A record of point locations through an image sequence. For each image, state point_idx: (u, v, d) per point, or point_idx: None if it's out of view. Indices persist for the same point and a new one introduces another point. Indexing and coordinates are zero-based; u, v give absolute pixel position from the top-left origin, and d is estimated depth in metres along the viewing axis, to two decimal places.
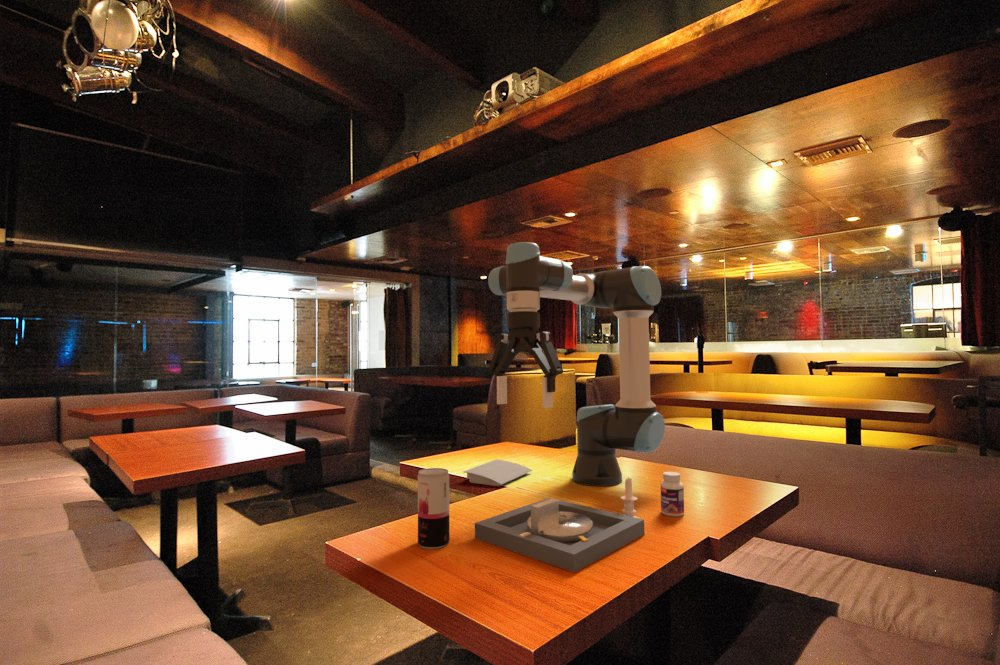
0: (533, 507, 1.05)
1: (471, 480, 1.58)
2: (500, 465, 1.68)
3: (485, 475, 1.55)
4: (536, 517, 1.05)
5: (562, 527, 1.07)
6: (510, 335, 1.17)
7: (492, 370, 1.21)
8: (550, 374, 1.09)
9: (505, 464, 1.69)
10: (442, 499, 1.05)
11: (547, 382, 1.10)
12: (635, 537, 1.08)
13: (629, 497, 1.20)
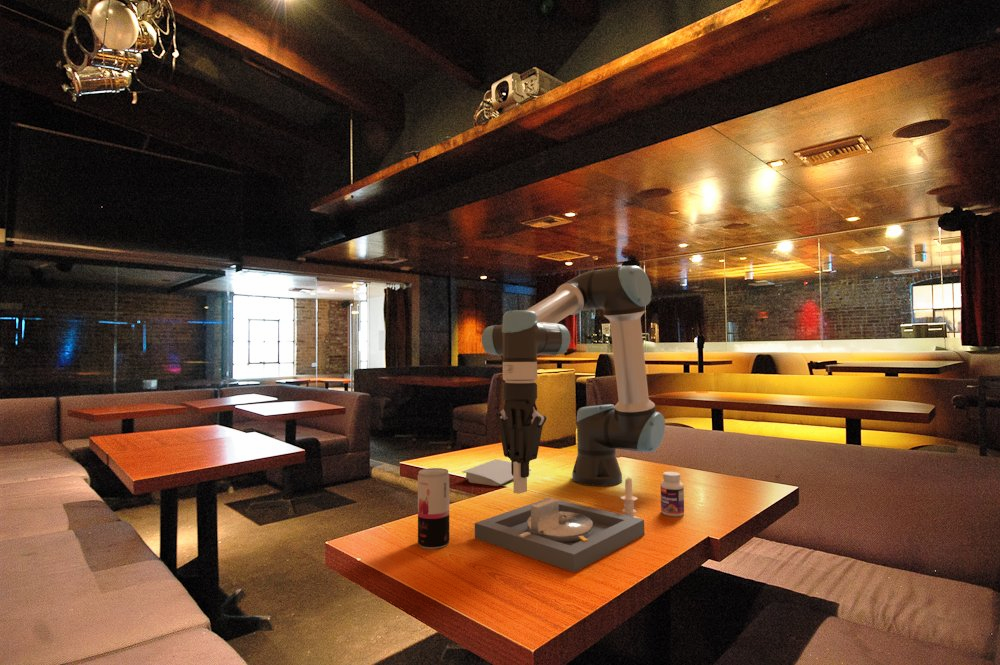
0: (533, 507, 1.05)
1: (470, 480, 1.59)
2: (499, 465, 1.68)
3: (484, 475, 1.55)
4: (536, 517, 1.05)
5: (562, 527, 1.07)
6: (505, 406, 1.13)
7: (508, 452, 1.12)
8: (523, 461, 1.09)
9: (504, 464, 1.69)
10: (442, 499, 1.05)
11: (521, 467, 1.09)
12: (635, 537, 1.08)
13: (629, 497, 1.20)
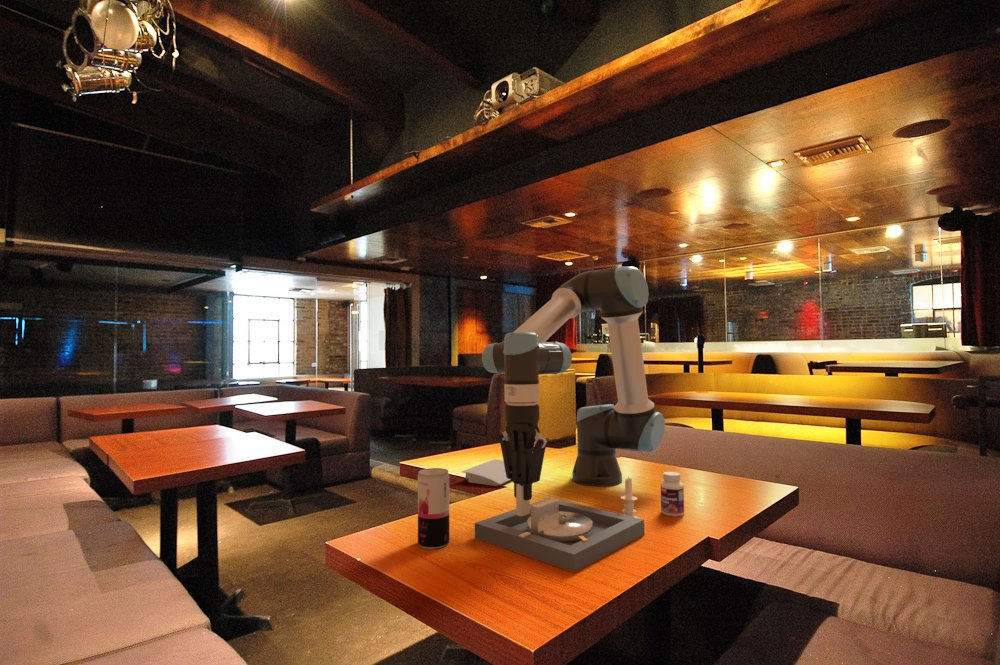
0: (533, 507, 1.05)
1: (470, 480, 1.59)
2: (498, 465, 1.68)
3: (484, 475, 1.56)
4: (536, 517, 1.05)
5: (562, 527, 1.07)
6: (507, 427, 1.12)
7: (510, 474, 1.11)
8: (526, 484, 1.08)
9: (503, 464, 1.69)
10: (442, 499, 1.05)
11: (523, 490, 1.09)
12: (635, 537, 1.08)
13: (629, 497, 1.20)
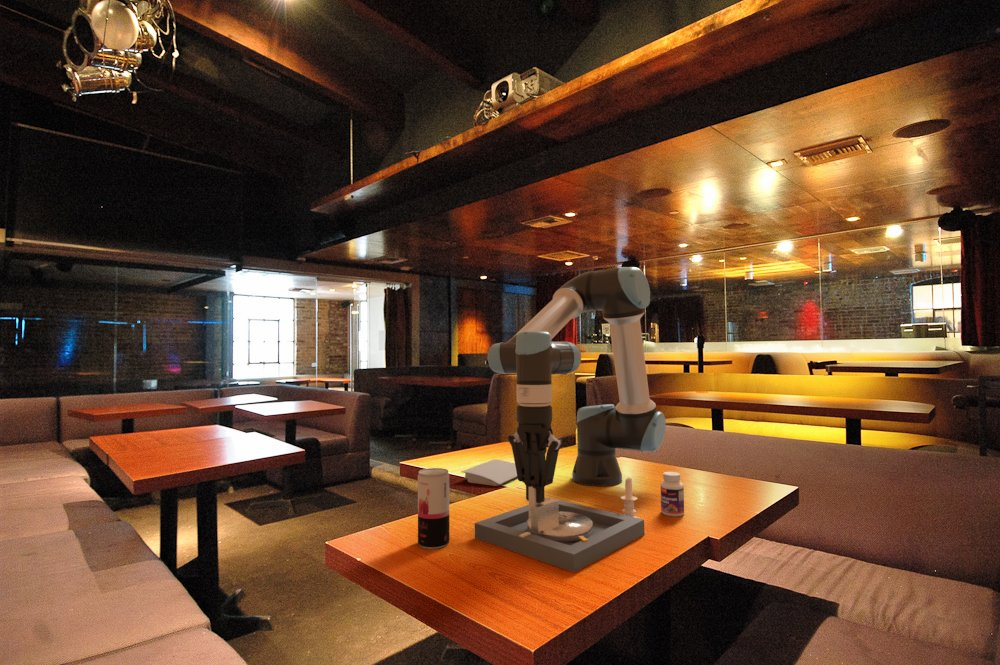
0: (533, 507, 1.05)
1: (469, 480, 1.59)
2: (498, 465, 1.68)
3: (483, 475, 1.56)
4: (536, 517, 1.05)
5: (562, 527, 1.07)
6: (519, 429, 1.10)
7: (522, 476, 1.09)
8: (539, 486, 1.06)
9: (503, 464, 1.70)
10: (442, 499, 1.05)
11: (536, 492, 1.07)
12: (635, 537, 1.08)
13: (629, 497, 1.20)
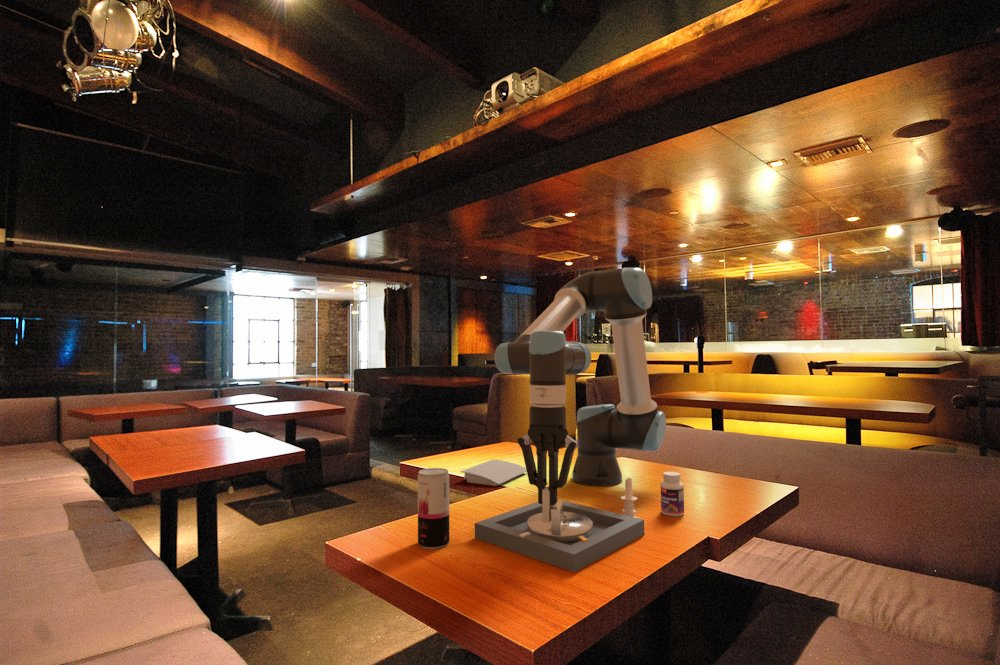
0: (554, 510, 1.03)
1: (469, 480, 1.59)
2: (497, 465, 1.68)
3: (483, 475, 1.56)
4: (558, 520, 1.03)
5: (571, 526, 1.08)
6: (531, 431, 1.07)
7: (534, 480, 1.06)
8: (554, 489, 1.04)
9: (502, 464, 1.70)
10: (442, 499, 1.05)
11: (550, 495, 1.05)
12: (635, 537, 1.08)
13: (629, 497, 1.20)
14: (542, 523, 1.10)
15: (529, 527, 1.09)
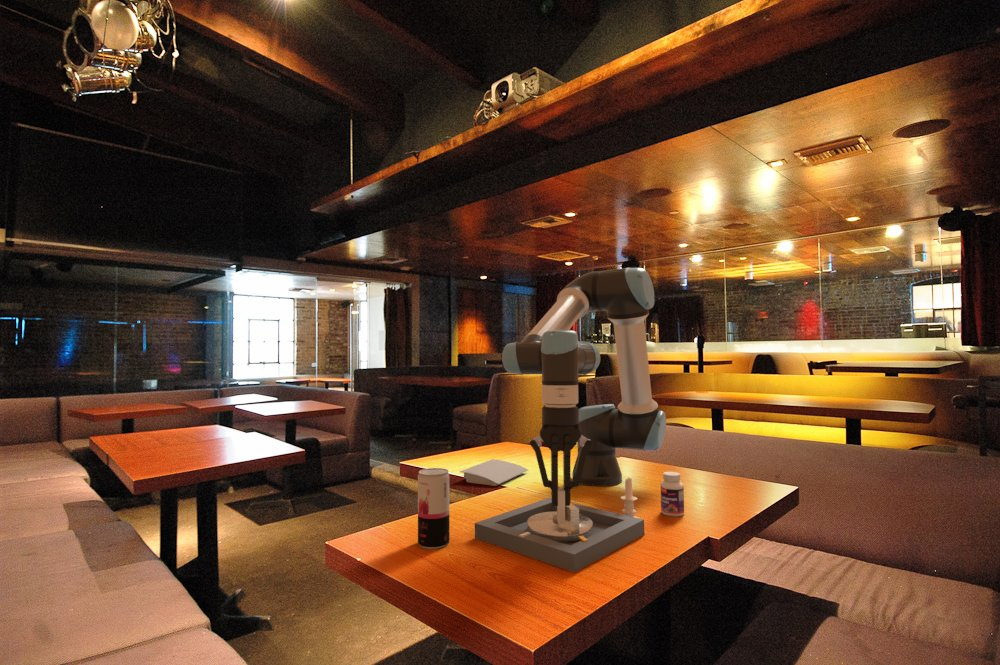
0: (573, 510, 1.03)
1: (468, 480, 1.59)
2: (496, 465, 1.68)
3: (482, 475, 1.56)
4: (577, 519, 1.03)
5: None
6: (544, 432, 1.05)
7: (548, 482, 1.04)
8: None
9: (501, 464, 1.70)
10: (442, 499, 1.05)
11: (565, 495, 1.04)
12: (635, 537, 1.08)
13: (629, 497, 1.20)
14: (547, 525, 1.08)
15: (537, 531, 1.06)
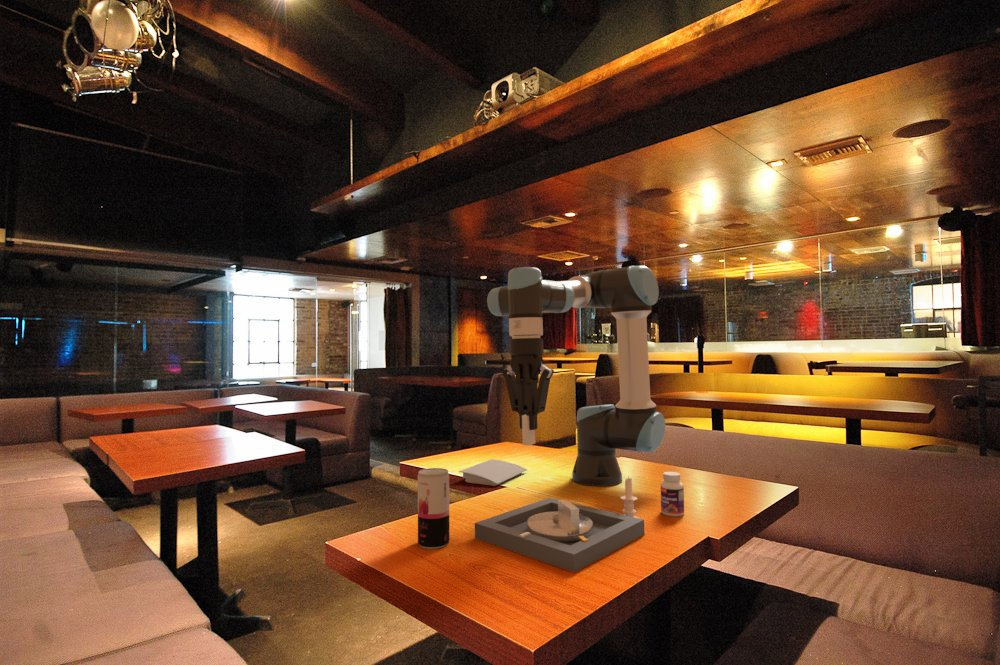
0: (573, 510, 1.03)
1: (467, 480, 1.59)
2: (495, 465, 1.68)
3: (481, 475, 1.56)
4: (577, 519, 1.03)
5: None
6: (512, 362, 1.15)
7: (515, 406, 1.15)
8: (532, 414, 1.12)
9: (500, 464, 1.70)
10: (442, 499, 1.05)
11: (529, 420, 1.12)
12: (635, 537, 1.08)
13: (629, 497, 1.20)
14: (547, 525, 1.08)
15: (537, 531, 1.06)
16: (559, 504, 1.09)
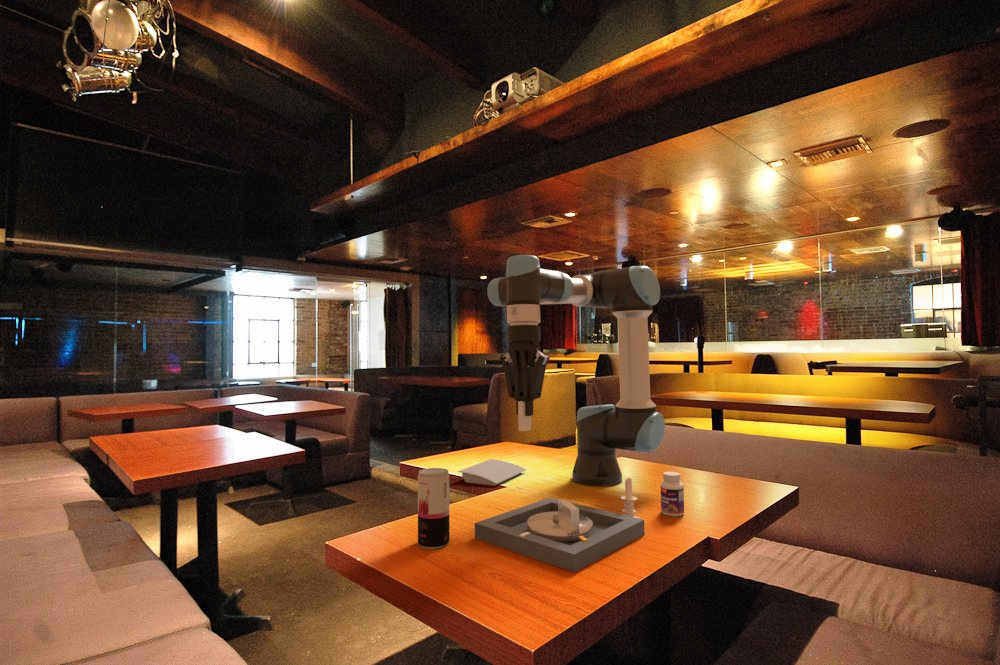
0: (573, 510, 1.03)
1: (466, 480, 1.59)
2: (495, 465, 1.68)
3: (480, 475, 1.56)
4: (577, 519, 1.03)
5: None
6: (509, 349, 1.17)
7: (512, 393, 1.16)
8: (527, 400, 1.13)
9: (499, 464, 1.70)
10: (442, 499, 1.05)
11: (525, 406, 1.13)
12: (635, 537, 1.08)
13: (629, 497, 1.20)
14: (547, 525, 1.08)
15: (537, 531, 1.06)
16: (559, 504, 1.09)
